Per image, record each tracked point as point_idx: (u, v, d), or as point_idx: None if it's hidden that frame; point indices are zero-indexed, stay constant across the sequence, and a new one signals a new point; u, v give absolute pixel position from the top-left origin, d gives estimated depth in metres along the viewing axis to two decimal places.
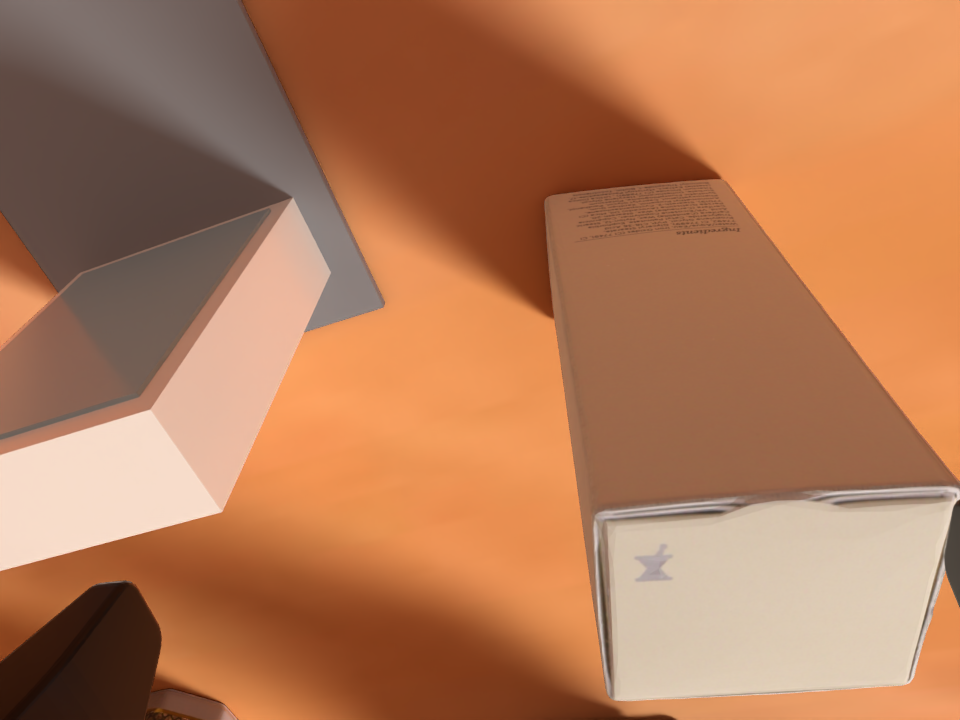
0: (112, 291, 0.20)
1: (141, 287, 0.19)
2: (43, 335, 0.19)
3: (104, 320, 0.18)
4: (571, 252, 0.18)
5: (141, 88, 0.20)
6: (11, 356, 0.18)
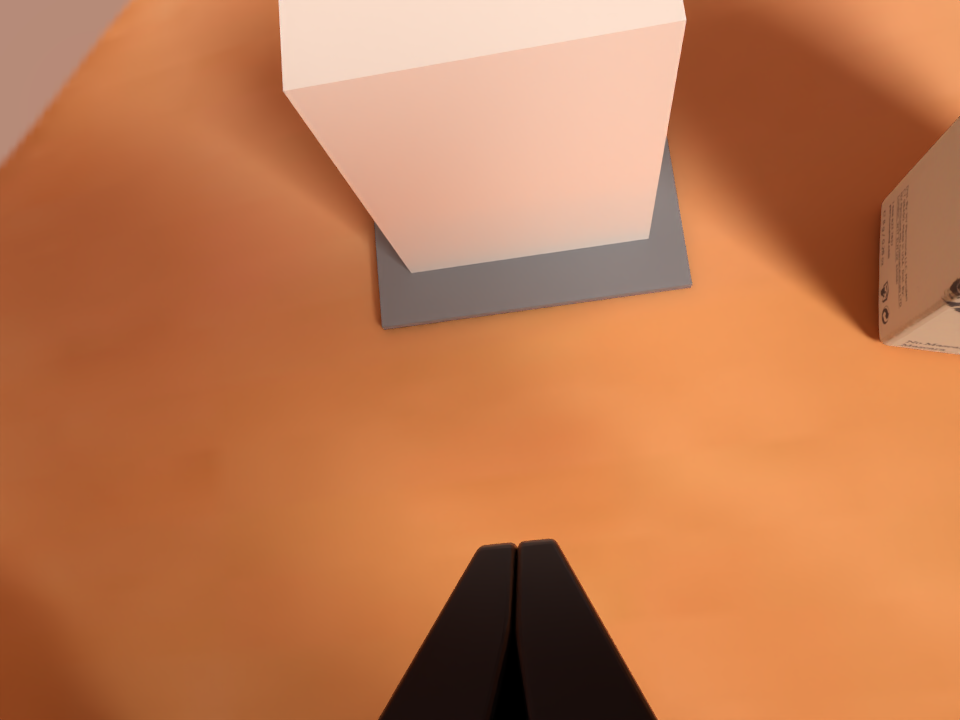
0: None
1: None
2: None
3: None
4: None
5: None
6: None
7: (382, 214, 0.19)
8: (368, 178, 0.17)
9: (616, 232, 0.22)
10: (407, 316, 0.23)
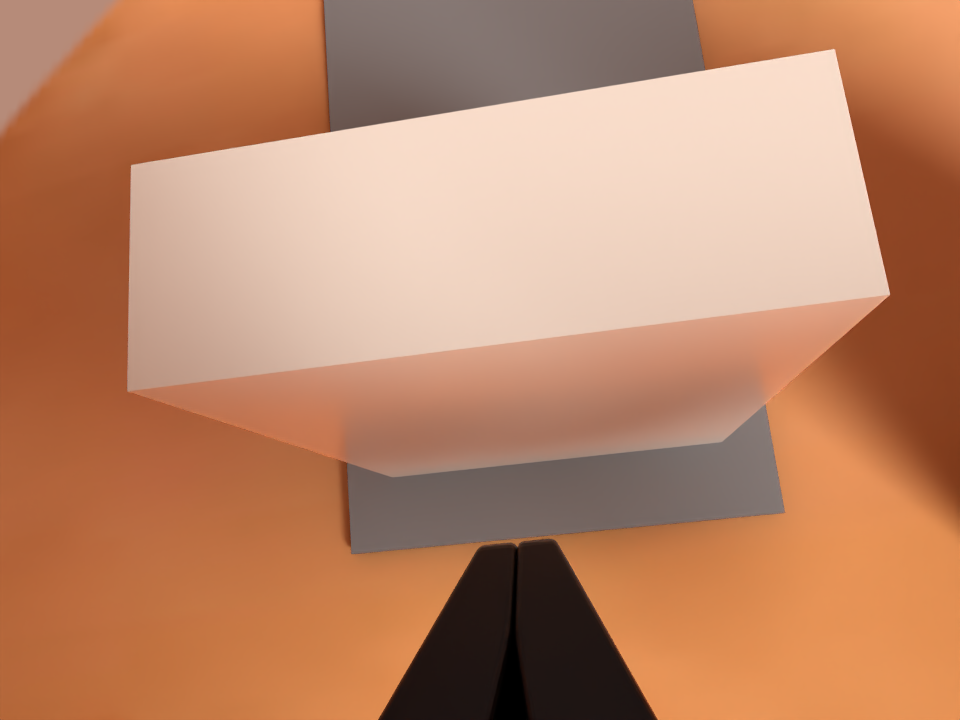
0: None
1: None
2: None
3: None
4: None
5: None
6: None
7: (341, 453, 0.13)
8: (312, 436, 0.11)
9: (679, 441, 0.16)
10: (387, 540, 0.17)
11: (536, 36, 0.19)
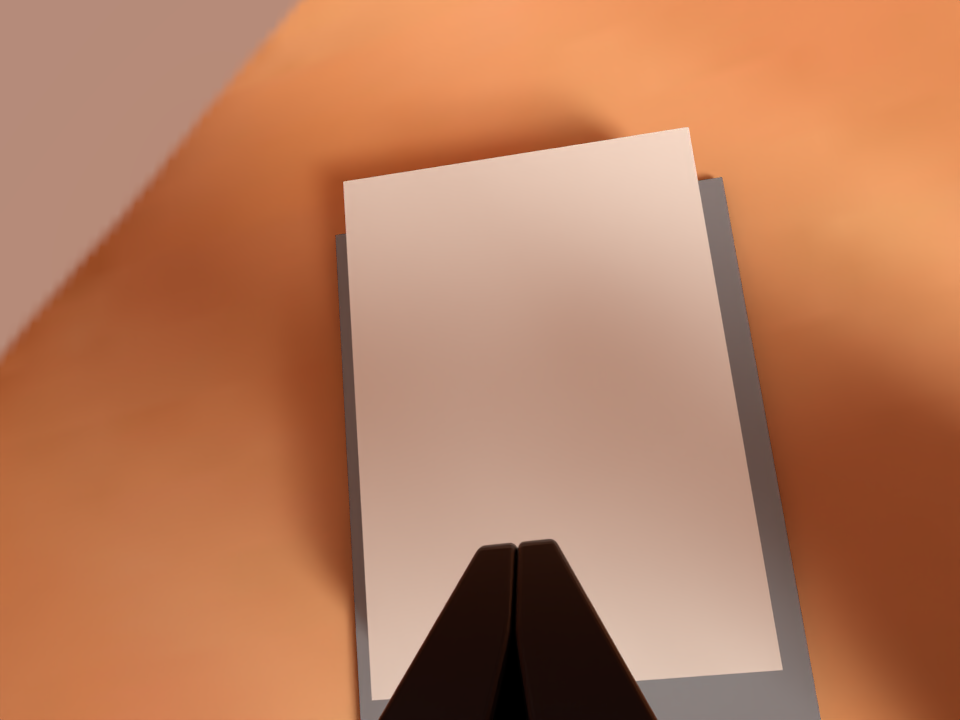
0: None
1: None
2: None
3: None
4: None
5: None
6: None
7: (372, 453, 0.15)
8: (377, 351, 0.15)
9: (717, 620, 0.13)
10: None
11: None
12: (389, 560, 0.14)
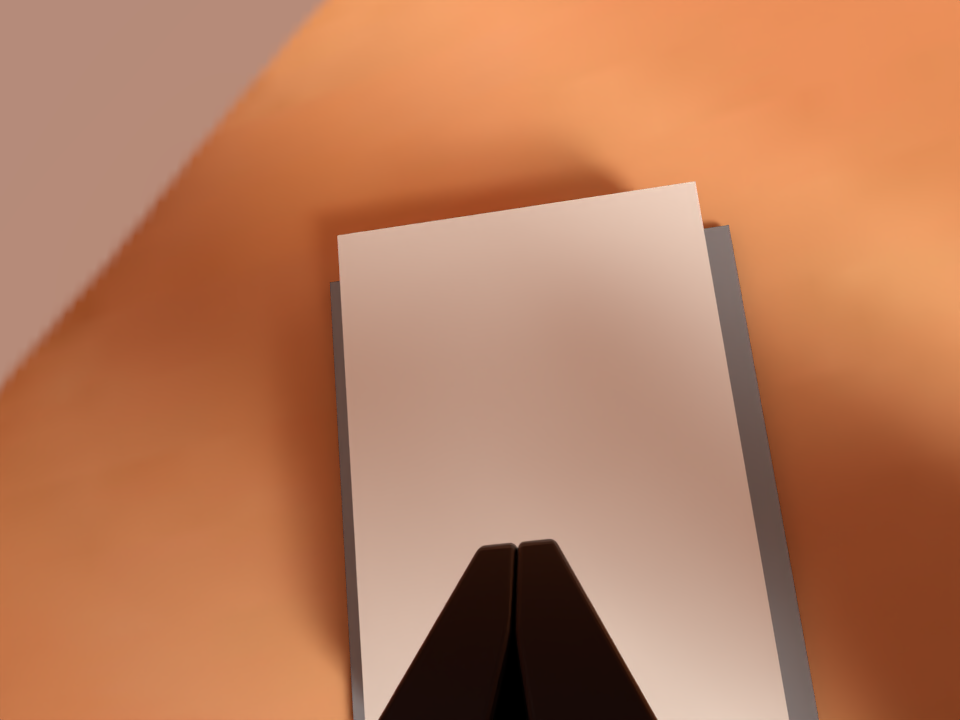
0: None
1: None
2: None
3: None
4: None
5: None
6: None
7: (368, 523, 0.14)
8: (373, 415, 0.15)
9: (727, 704, 0.13)
10: None
11: None
12: (386, 636, 0.14)
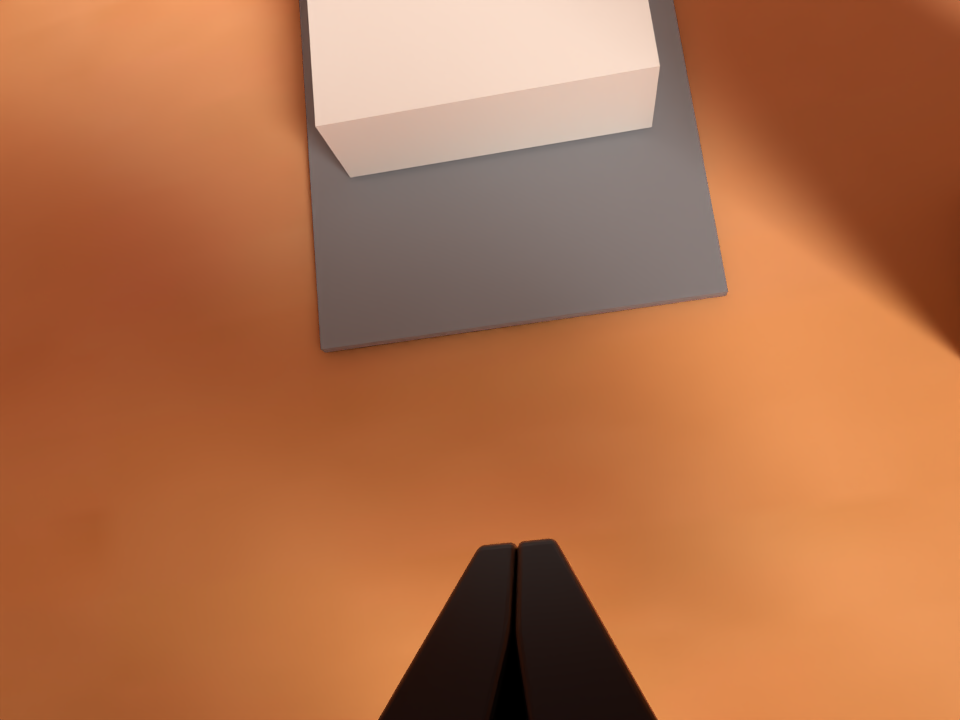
0: None
1: None
2: None
3: None
4: None
5: None
6: None
7: None
8: None
9: (606, 36, 0.16)
10: (354, 335, 0.18)
11: None
12: (330, 22, 0.17)
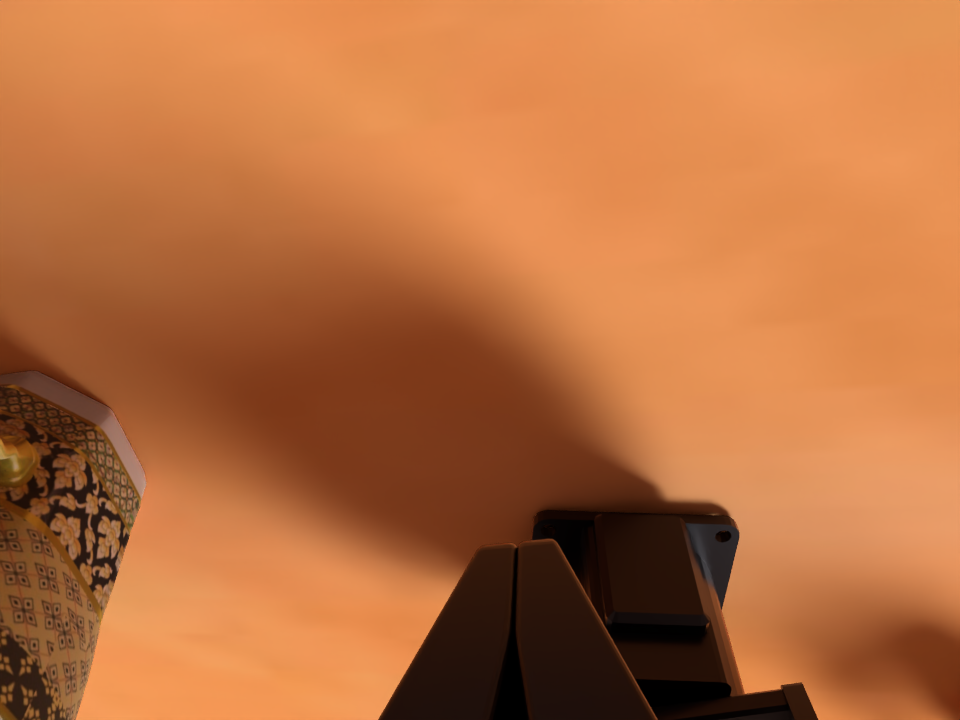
0: None
1: None
2: None
3: None
4: None
5: None
6: None
7: None
8: None
9: None
10: None
11: None
12: None
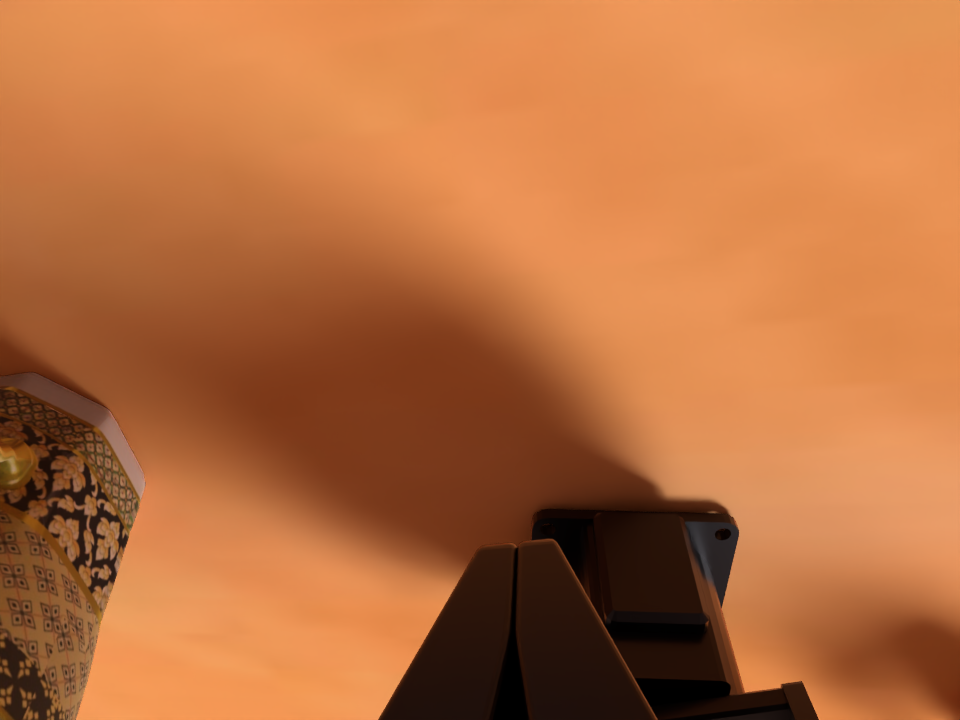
0: None
1: None
2: None
3: None
4: None
5: None
6: None
7: None
8: None
9: None
10: None
11: None
12: None
